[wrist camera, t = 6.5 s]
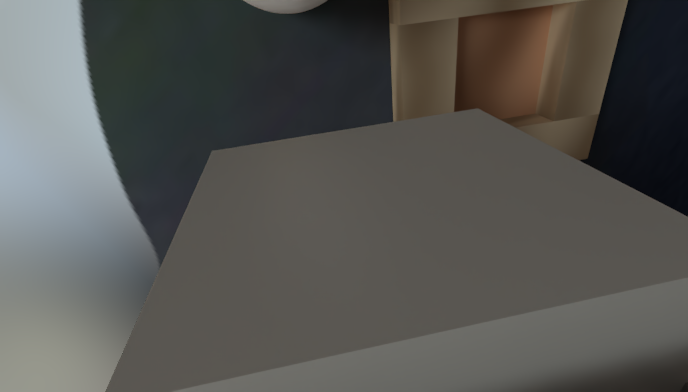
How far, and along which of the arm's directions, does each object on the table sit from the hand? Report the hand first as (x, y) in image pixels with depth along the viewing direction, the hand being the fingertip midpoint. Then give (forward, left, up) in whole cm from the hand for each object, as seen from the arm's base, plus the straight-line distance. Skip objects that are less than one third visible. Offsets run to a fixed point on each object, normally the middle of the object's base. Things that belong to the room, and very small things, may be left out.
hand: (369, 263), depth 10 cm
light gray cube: (0, 0, -1) cm, 1 cm away
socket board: (-10, -2, -12) cm, 16 cm away
